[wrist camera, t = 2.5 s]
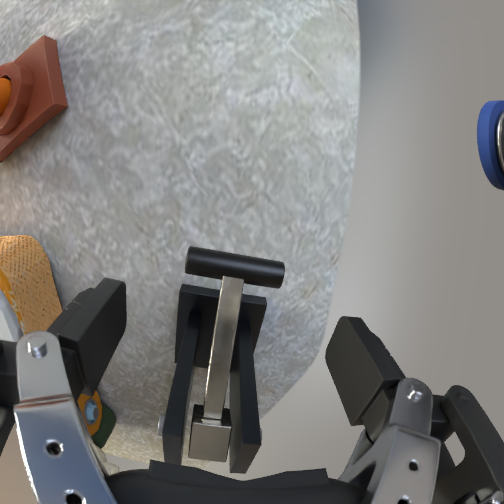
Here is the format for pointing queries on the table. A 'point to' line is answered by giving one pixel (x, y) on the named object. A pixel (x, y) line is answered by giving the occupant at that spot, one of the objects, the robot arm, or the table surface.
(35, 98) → the block
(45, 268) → the device
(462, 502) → the robot arm
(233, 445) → the bracket
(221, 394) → the lever
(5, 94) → the button
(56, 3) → the table surface
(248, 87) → the table surface
